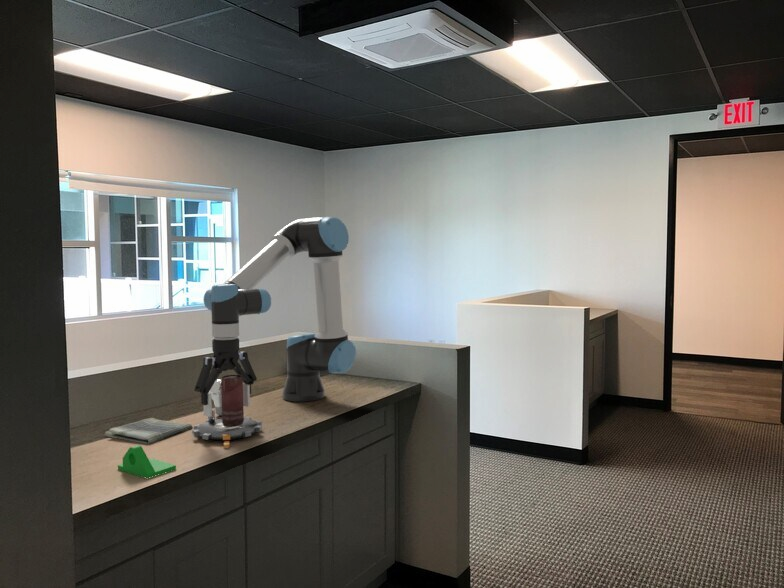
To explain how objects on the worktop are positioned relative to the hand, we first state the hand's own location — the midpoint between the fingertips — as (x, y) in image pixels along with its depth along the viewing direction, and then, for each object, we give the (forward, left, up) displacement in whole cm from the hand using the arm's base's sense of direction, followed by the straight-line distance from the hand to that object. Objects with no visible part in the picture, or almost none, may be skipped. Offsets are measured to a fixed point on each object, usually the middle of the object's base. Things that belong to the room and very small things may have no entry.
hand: (227, 410), depth 179 cm
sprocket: (0, 0, -6) cm, 6 cm away
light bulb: (+1, -22, -7) cm, 23 cm away
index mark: (+1, +12, -7) cm, 14 cm away
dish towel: (+22, -10, -8) cm, 25 cm away
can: (-2, -1, -4) cm, 5 cm away
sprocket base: (0, 0, -7) cm, 7 cm away
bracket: (+20, +24, -7) cm, 32 cm away
